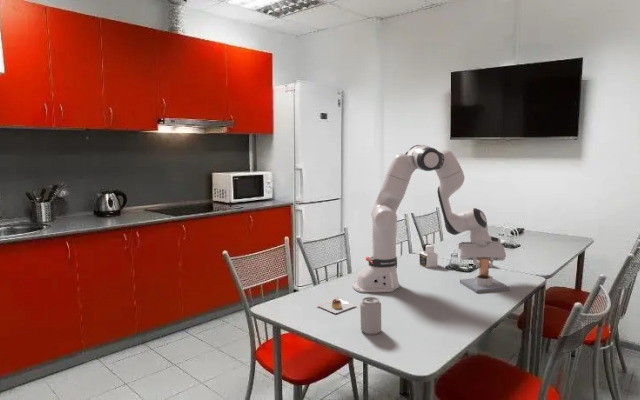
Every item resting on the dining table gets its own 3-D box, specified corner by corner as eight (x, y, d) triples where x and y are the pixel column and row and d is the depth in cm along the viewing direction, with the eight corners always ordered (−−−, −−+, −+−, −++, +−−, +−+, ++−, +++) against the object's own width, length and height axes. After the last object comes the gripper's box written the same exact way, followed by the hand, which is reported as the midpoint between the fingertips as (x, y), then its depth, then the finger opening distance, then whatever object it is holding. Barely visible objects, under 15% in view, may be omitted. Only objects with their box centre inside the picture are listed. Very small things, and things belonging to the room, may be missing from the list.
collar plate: (476, 293, 188) (476, 283, 187) (459, 282, 202) (459, 273, 202) (509, 289, 190) (509, 280, 190) (490, 279, 205) (490, 270, 205)
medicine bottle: (419, 264, 234) (419, 243, 233) (430, 263, 236) (430, 242, 235) (426, 268, 227) (426, 246, 226) (437, 266, 229) (437, 245, 228)
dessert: (316, 307, 178) (316, 296, 177) (337, 300, 185) (337, 290, 185) (335, 316, 169) (335, 304, 168) (356, 308, 176) (356, 297, 175)
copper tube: (482, 281, 194) (482, 260, 192) (477, 278, 198) (477, 258, 196) (490, 280, 194) (490, 259, 193) (485, 278, 198) (485, 257, 197)
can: (379, 326, 157) (379, 295, 155) (383, 335, 149) (382, 302, 148) (359, 327, 156) (358, 296, 155) (362, 336, 149) (361, 303, 147)
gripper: (458, 238, 202) (461, 263, 194) (503, 238, 199) (508, 264, 190) (457, 245, 207) (460, 270, 199) (501, 245, 204) (506, 271, 195)
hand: (484, 267), depth 195 cm, fingers closed on copper tube, 4 cm apart
